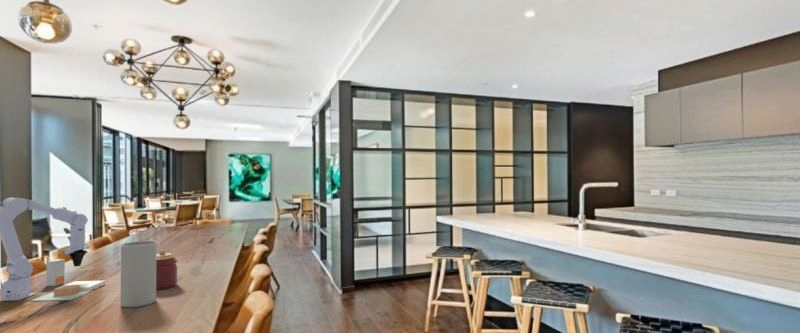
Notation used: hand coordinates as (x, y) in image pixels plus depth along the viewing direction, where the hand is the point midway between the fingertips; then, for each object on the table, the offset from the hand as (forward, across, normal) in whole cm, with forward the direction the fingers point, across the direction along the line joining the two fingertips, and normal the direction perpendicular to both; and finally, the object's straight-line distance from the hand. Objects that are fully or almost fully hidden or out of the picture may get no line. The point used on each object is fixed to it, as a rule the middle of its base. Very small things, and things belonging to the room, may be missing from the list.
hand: (77, 266), depth 198 cm
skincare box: (+10, +3, +12) cm, 16 cm away
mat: (+9, -18, -6) cm, 22 cm away
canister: (+10, -7, -43) cm, 45 cm away
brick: (+9, -16, -6) cm, 19 cm away
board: (+9, -6, -6) cm, 13 cm away
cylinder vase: (+10, -33, -46) cm, 57 cm away
